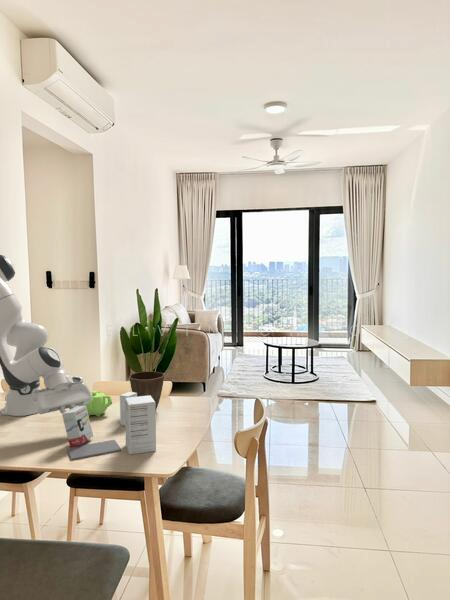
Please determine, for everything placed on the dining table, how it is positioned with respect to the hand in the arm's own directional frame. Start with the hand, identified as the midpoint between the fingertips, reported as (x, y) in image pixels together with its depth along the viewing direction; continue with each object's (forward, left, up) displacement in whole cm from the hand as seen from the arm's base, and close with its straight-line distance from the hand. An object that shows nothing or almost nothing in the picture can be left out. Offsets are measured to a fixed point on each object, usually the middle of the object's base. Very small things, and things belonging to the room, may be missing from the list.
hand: (71, 417), depth 153 cm
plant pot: (-16, +34, -8) cm, 38 cm away
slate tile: (+16, +5, -7) cm, 18 cm away
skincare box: (-5, +23, -8) cm, 24 cm away
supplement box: (+21, +20, -8) cm, 30 cm away
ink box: (+7, +3, -7) cm, 11 cm away
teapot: (-23, +13, -8) cm, 27 cm away
